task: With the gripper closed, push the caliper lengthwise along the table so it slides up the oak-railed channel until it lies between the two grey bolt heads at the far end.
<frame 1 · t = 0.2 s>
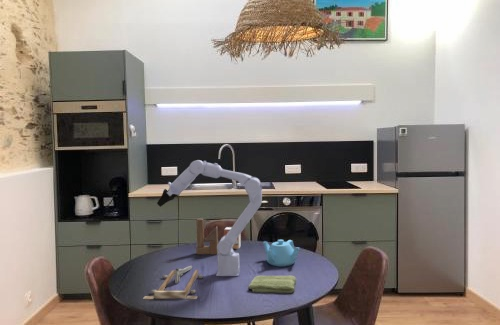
hand: (161, 203, 165), 31 cm above the table, tool tilted 45°, fingers open, 7 cm apart
washcloth: (273, 288, 149), on the table
small box: (232, 247, 204), on the table
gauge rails: (178, 284, 153), on the table
brown wooden frame: (207, 254, 194), on the table
caliper: (184, 276, 163), on the table
teapot: (280, 263, 177), on the table
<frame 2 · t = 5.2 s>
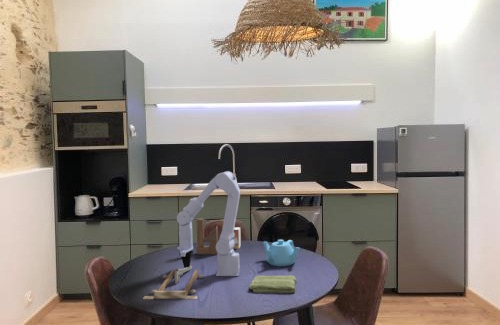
hand: (186, 267, 168), 1 cm above the table, tool pointing down, fingers closed
caliper: (184, 276, 163), on the table, touching gripper
everything else where it was.
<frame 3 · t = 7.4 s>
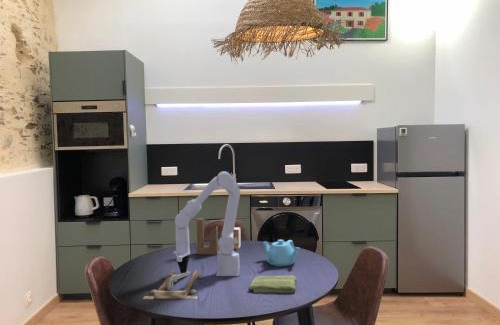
hand: (183, 273, 162), 1 cm above the table, tool pointing down, fingers closed
caliper: (179, 282, 156), on the table, touching gripper
everything else where it was.
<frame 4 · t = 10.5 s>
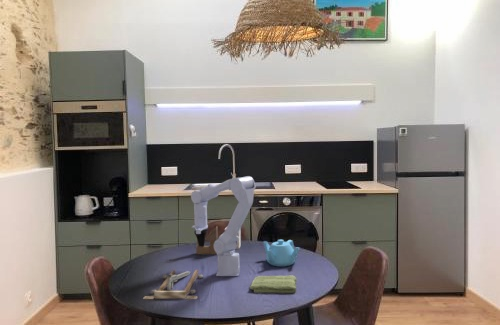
hand: (201, 245, 172), 10 cm above the table, tool pointing down, fingers closed
caliper: (179, 282, 156), on the table
everything else where it was.
at the end: caliper inside the target area (6.0 cm from its centre), on the table; caliper moved 7.1 cm from its start; the gripper is holding nothing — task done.
